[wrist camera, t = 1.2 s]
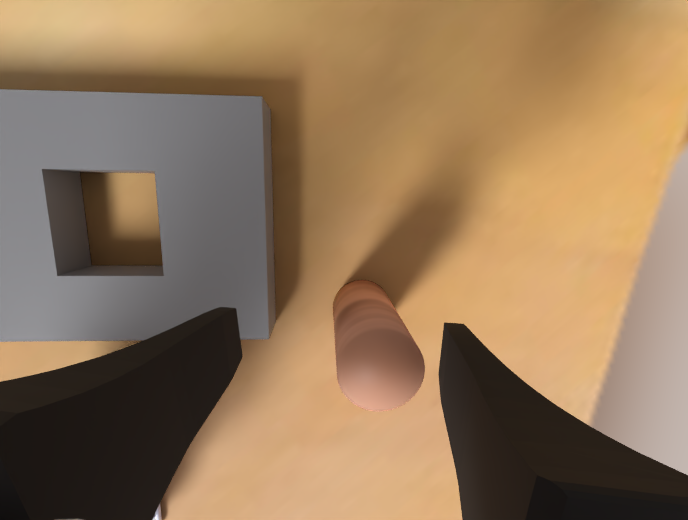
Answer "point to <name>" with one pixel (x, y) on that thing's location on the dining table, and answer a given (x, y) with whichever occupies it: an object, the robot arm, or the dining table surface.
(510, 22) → the dining table surface
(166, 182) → the grey flat holed block
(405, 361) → the terracotta peg
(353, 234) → the dining table surface
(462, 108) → the dining table surface
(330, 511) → the dining table surface
